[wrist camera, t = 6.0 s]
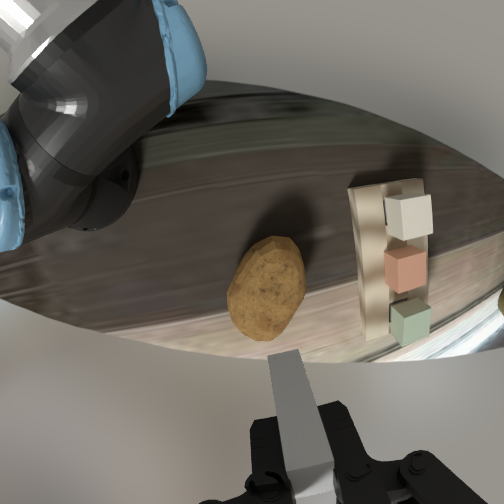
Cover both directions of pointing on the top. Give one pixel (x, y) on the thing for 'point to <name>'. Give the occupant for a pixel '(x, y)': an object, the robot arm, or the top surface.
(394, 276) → the block terracotta
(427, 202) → the block cream
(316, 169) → the top surface
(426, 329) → the block sage
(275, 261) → the potato
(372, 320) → the board
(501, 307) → the squeeze bottle
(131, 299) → the top surface
